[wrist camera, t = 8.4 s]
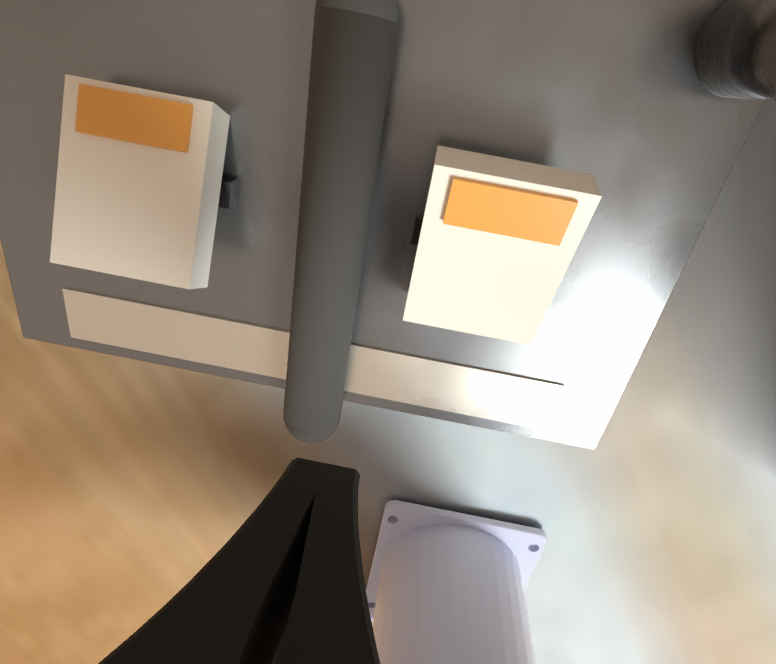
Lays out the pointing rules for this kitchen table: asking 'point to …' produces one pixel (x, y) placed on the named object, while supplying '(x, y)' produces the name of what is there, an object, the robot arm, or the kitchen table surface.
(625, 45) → the panel
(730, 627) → the kitchen table surface
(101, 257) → the paddle
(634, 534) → the kitchen table surface
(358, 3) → the dark grey rod
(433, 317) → the paddle
